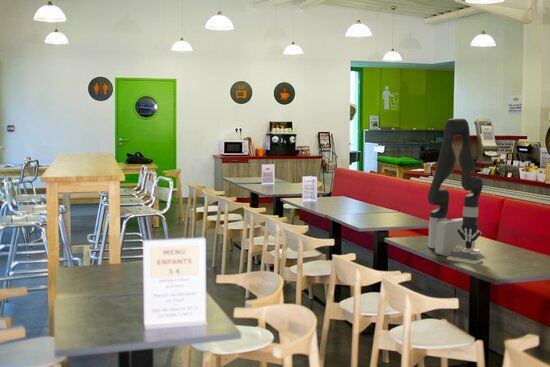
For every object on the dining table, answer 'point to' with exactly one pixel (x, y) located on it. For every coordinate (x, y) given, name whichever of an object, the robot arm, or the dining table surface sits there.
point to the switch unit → (465, 257)
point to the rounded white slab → (449, 236)
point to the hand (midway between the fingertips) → (468, 248)
